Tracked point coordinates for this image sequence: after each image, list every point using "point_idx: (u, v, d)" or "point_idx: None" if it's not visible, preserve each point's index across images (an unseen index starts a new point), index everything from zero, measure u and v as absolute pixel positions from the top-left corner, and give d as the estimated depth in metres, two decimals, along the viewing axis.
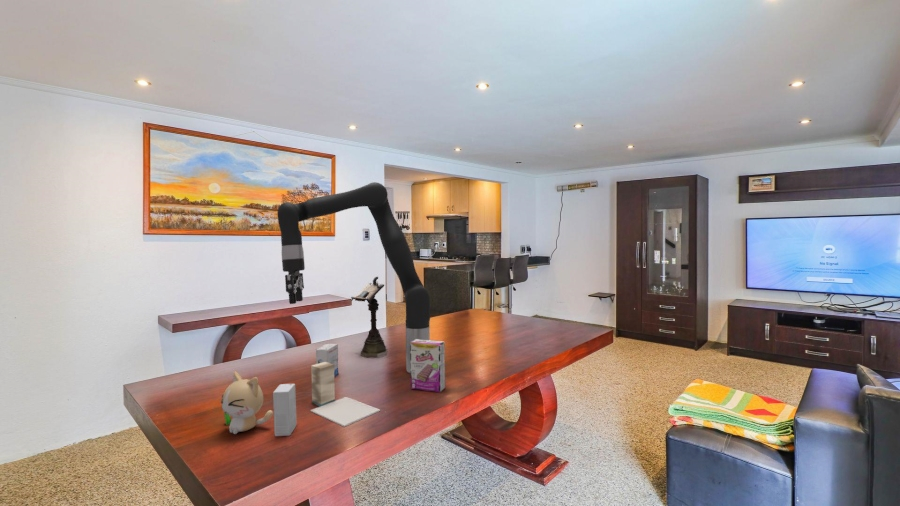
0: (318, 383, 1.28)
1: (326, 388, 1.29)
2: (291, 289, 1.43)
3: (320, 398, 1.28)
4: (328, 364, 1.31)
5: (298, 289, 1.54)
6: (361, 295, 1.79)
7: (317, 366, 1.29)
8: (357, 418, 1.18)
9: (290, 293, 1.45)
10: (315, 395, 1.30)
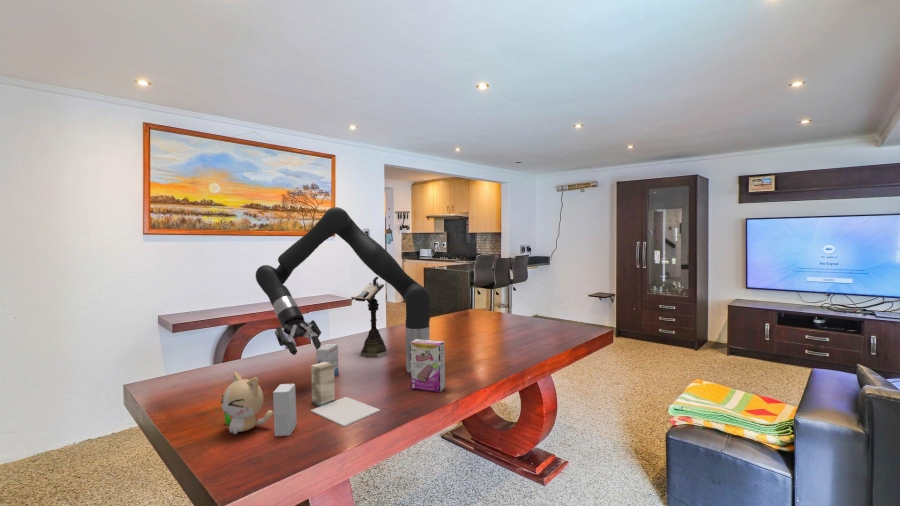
0: (318, 383, 1.28)
1: (326, 388, 1.29)
2: (281, 340, 1.33)
3: (320, 398, 1.28)
4: (328, 364, 1.31)
5: (312, 337, 1.41)
6: (361, 295, 1.79)
7: (317, 366, 1.29)
8: (357, 418, 1.18)
9: (287, 345, 1.34)
10: (315, 395, 1.30)
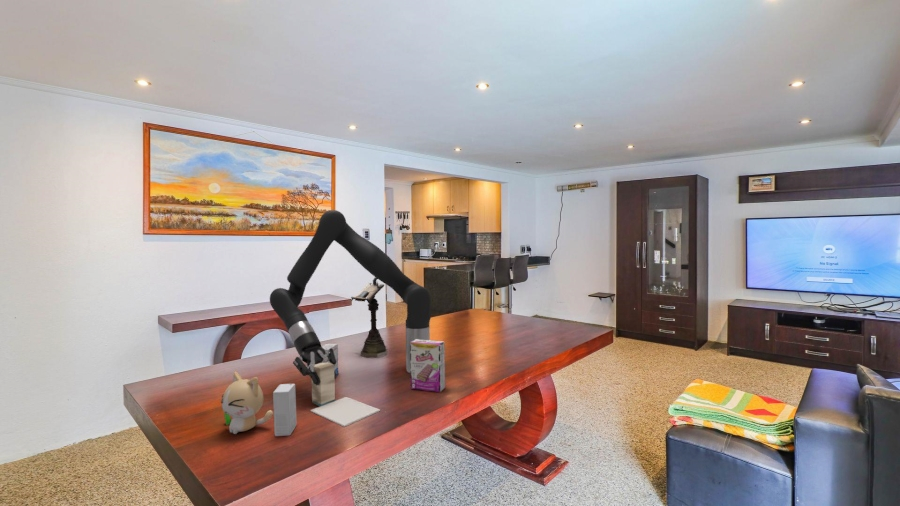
0: None
1: (326, 388, 1.29)
2: (304, 370, 1.27)
3: (320, 398, 1.28)
4: (328, 364, 1.31)
5: None
6: (361, 295, 1.78)
7: (317, 366, 1.29)
8: (357, 418, 1.18)
9: (310, 375, 1.28)
10: (315, 395, 1.30)
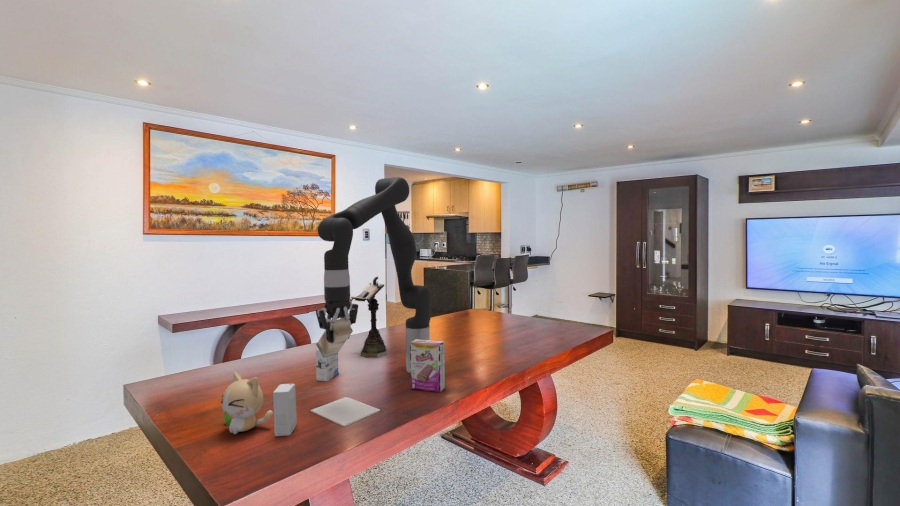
0: None
1: (335, 346, 1.25)
2: (323, 327, 1.20)
3: (325, 351, 1.25)
4: (347, 327, 1.24)
5: None
6: (361, 295, 1.79)
7: (337, 327, 1.22)
8: (357, 418, 1.18)
9: (326, 330, 1.22)
10: (322, 344, 1.26)
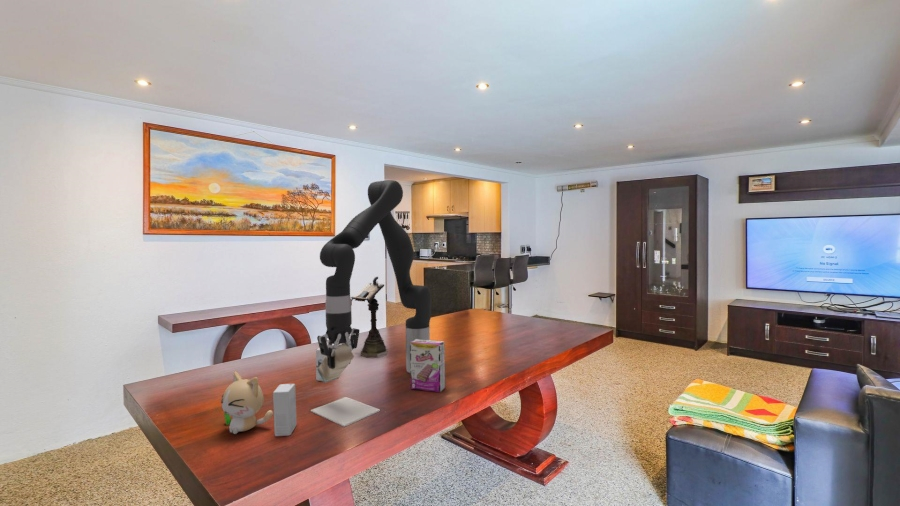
0: None
1: (336, 371, 1.25)
2: (324, 353, 1.20)
3: (326, 377, 1.25)
4: (348, 352, 1.24)
5: None
6: (361, 295, 1.79)
7: (338, 352, 1.22)
8: (357, 418, 1.18)
9: (327, 356, 1.22)
10: (323, 369, 1.26)
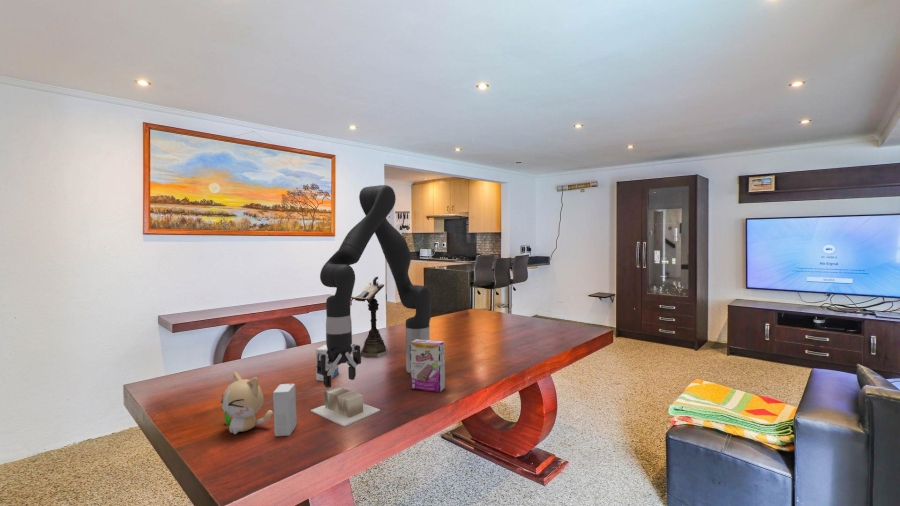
0: (339, 409, 1.22)
1: None
2: (320, 372, 1.19)
3: (330, 407, 1.25)
4: (360, 407, 1.22)
5: (351, 365, 1.28)
6: (361, 295, 1.79)
7: (351, 408, 1.19)
8: (357, 418, 1.18)
9: (323, 375, 1.21)
10: (330, 400, 1.24)
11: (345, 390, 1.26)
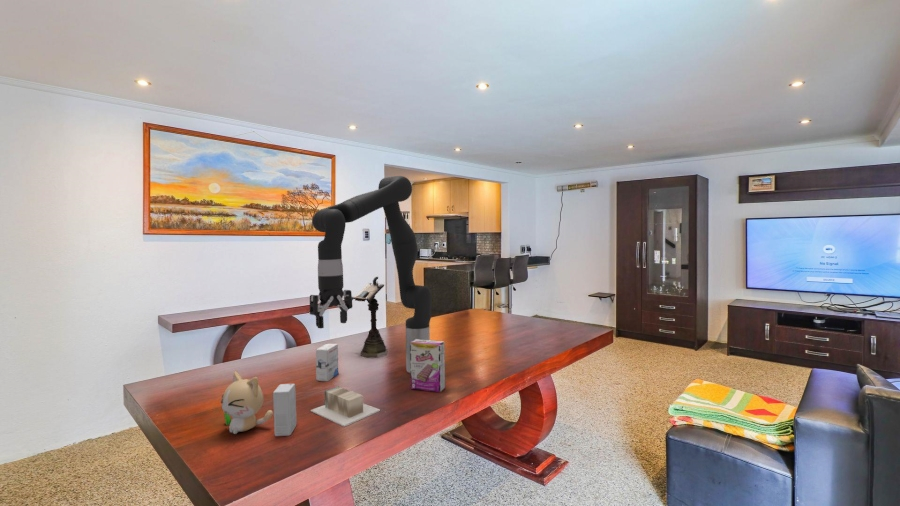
0: (339, 409, 1.22)
1: None
2: (313, 312, 1.23)
3: (330, 407, 1.25)
4: (360, 407, 1.22)
5: (342, 309, 1.32)
6: (361, 295, 1.79)
7: (351, 408, 1.19)
8: (357, 418, 1.18)
9: (316, 316, 1.25)
10: (330, 400, 1.24)
11: (345, 390, 1.26)
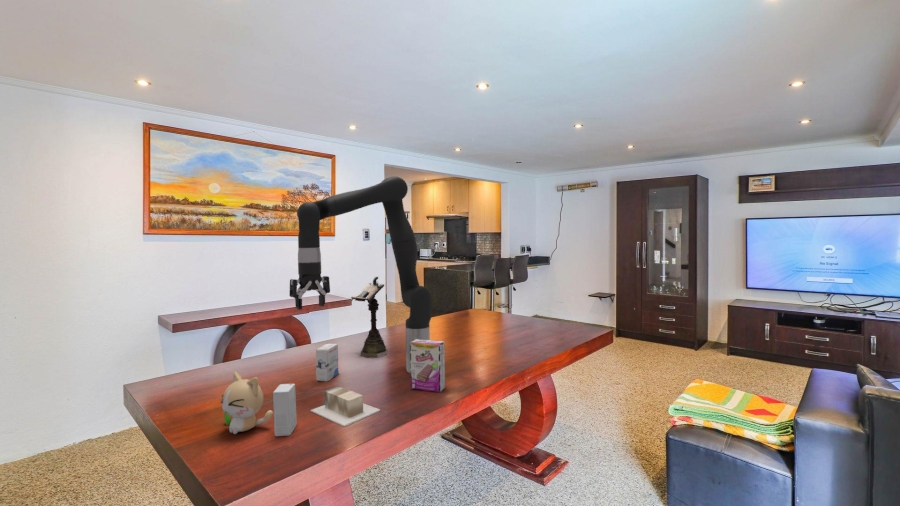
0: (339, 409, 1.22)
1: None
2: (292, 295, 1.37)
3: (330, 407, 1.25)
4: (360, 407, 1.22)
5: (320, 293, 1.46)
6: (361, 295, 1.79)
7: (351, 408, 1.19)
8: (357, 418, 1.18)
9: (295, 298, 1.39)
10: (330, 400, 1.24)
11: (345, 390, 1.26)
